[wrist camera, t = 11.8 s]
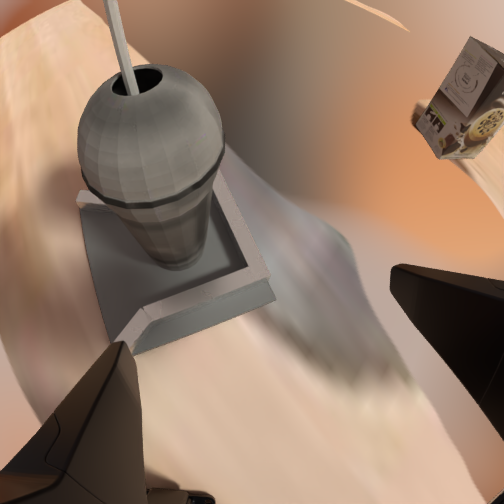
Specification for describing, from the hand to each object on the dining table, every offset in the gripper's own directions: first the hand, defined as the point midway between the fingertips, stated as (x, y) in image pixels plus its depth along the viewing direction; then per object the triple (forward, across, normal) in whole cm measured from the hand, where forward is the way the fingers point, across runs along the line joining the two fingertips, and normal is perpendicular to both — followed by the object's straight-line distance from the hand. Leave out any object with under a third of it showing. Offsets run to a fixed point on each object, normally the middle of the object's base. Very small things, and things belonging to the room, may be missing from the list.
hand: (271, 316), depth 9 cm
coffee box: (+22, -34, -2) cm, 40 cm away
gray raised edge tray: (+16, +4, +3) cm, 17 cm away
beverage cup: (+16, +3, +3) cm, 17 cm away
